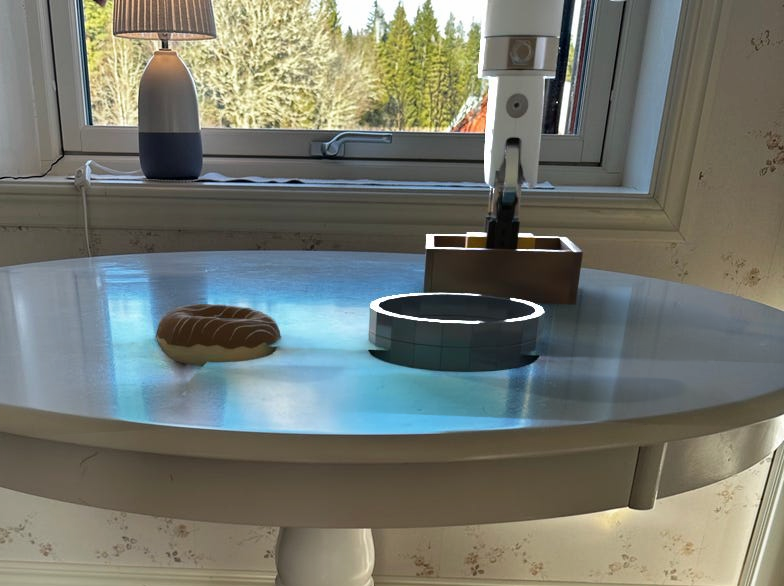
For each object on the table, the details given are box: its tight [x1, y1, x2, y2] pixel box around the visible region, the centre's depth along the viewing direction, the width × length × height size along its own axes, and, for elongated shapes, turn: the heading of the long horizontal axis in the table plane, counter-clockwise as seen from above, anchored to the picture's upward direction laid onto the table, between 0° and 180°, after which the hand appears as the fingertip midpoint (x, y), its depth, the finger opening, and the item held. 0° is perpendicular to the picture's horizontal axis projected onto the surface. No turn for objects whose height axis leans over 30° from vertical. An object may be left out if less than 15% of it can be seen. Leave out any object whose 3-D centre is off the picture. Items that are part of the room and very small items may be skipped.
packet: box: [465, 231, 536, 250], centre depth 102 cm, size 7×4×4 cm, turn 83°
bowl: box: [367, 292, 546, 373], centre depth 81 cm, size 14×14×4 cm
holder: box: [422, 233, 584, 306], centre depth 104 cm, size 16×14×7 cm
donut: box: [155, 303, 282, 367], centre depth 81 cm, size 11×11×4 cm
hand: (498, 257), depth 103 cm, fingers open, 4 cm apart
